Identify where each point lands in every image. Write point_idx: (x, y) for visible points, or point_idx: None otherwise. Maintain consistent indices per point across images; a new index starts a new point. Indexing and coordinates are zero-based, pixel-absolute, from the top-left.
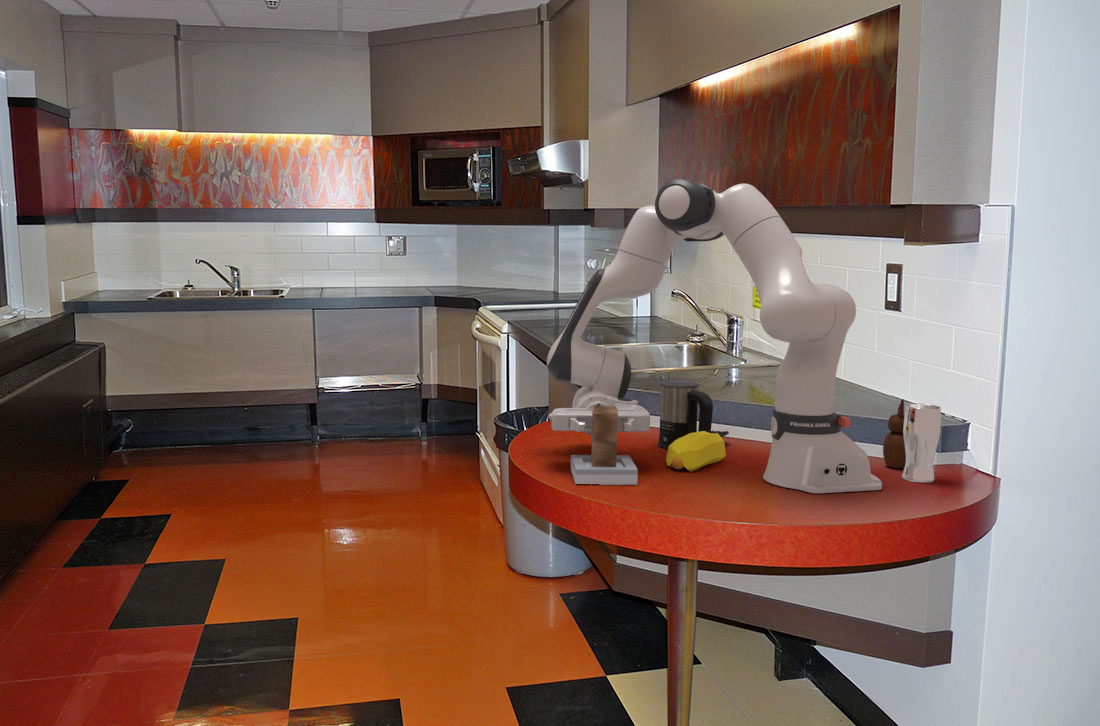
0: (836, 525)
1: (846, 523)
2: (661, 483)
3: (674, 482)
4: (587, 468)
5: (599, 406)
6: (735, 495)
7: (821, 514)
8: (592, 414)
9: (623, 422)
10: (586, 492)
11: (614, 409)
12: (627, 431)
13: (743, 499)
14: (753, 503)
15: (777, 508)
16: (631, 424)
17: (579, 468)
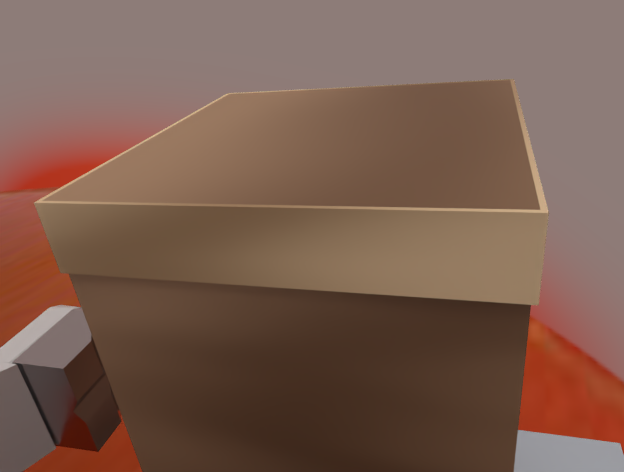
0: (56, 188)
1: (30, 192)
2: (115, 459)
3: (44, 465)
4: (534, 453)
5: (386, 162)
6: (19, 308)
7: (10, 216)
8: (520, 379)
9: (76, 360)
10: (532, 384)
11: (252, 98)
12: None
13: (40, 283)
14: (53, 262)
15: (44, 239)
16: (65, 306)
17: (595, 461)
